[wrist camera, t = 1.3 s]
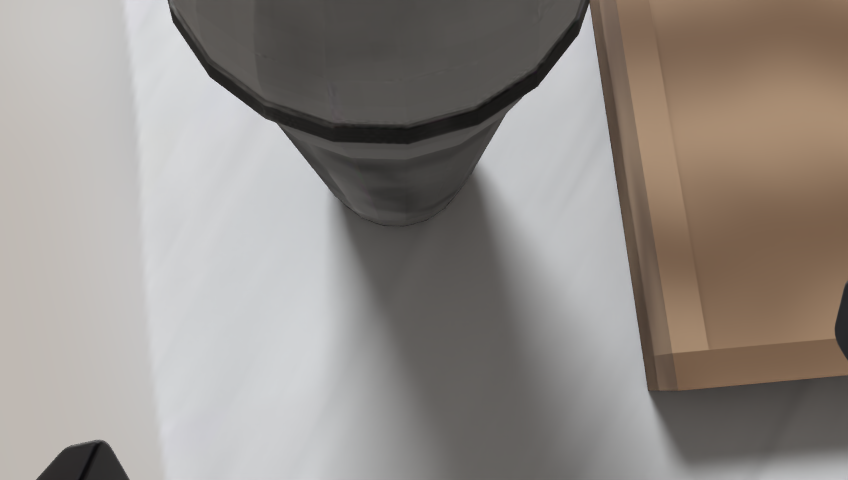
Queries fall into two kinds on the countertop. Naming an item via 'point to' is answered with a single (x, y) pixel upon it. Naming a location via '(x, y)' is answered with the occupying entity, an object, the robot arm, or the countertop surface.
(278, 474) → the countertop surface
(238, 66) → the beverage cup
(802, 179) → the walnut tray
